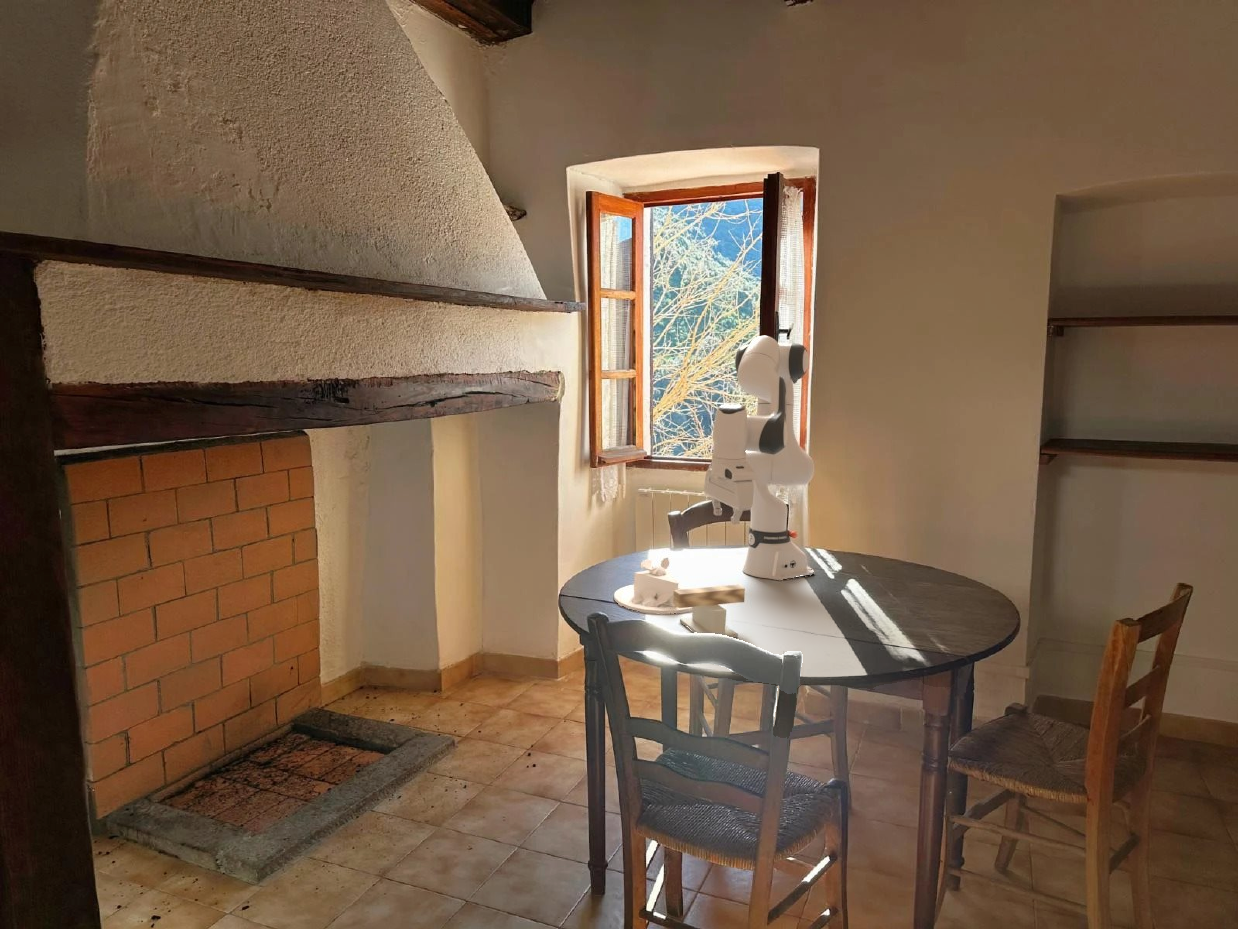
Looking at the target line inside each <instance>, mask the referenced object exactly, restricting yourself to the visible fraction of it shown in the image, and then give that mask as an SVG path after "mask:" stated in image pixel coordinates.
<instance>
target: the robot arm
mask: <svg viewBox="0 0 1238 929" xmlns="http://www.w3.org/2000/svg"><path fill="white" fill-rule="evenodd" d="M734 358H735V359H734V367H735V370H736V373H737V374H736V375H737V376H736V377H737V381H738V384H739V386H740V387H741V389H742V390H743V391H744V392H745V393H746V394H748V395H749V396H752V397H754V398H757V407H756V414H748V411H747V408H746V407H745V406H744V405H743V404H739V403H725V404H724V403H723V404H721V405H719V406H718V407H717V409H716V411H715V416H714V423H713V429H712V430H713V432H712V441H713V450H712V454H711V462H710V464H709V465H708V468H707V470H706V472H705V477H704V485H703V487H704V488H703V491H704V494H705V495H706V496H708V497H710V498H711V503H712V507H713V515H715V516H722V515H723V508H722V507H721V503H722V504H725V505H727V506H729V507H731V508H732V512H733V514H732V516H730V523H731V524H732V525H739V524H740V520H741V517H742V514H743V512H744V511H745V512H746V511H750V526H749V527H748V537H747V539H748V541H747V542H748V546H747V547H748V548H747V554H746V558H745V562H744V564H743V568H742V571H743V573H744V574H746V575H748V576H752V577H755V578H756V577H757V578H763V579H771V580H776V581H784V580H783V579H787V578H793V577H796V576H800V575H806V574H809V573H813V572H814V573H815V571H814V569H813V568H812V567H810V566H809V565H808V559H807V558H808V557H807V555H806V553H805V552H804V551H803V550H801V549H800V548H799V547H798V546H797V545H796V544H795V543H794V542H793V541H792V540H791V539H796V538H797V537H798V533H797V532H796V531H793V530H791V531H790V530H788V529H787V520H788V519H787V518H788V506H787V504H786V502H785V501H784V500H783V499H781V498H780V497H778V496H776V495H774V494H773V493H771V491H770V490H769V488H768V487H769V486H778V487H779V486H780V487H797V486H799V487H800V486H806V485H808V484H809V483H810V482H811V481H812V479H813V477H814V475H815V469H816V468H815V463H814V460H813V458H812V457H811V456H810V454H808V453H807V452H806V451H805V450H804V449H803V448H802V446H800V444H799V442H798V440H797V438H796V436H795V431H794V405H795V403H794V402H795V396H794V394H795V393H794V392H795V391H794V385H795V384H796V383H797V382H798V380H801V379H802V378H803V377H804V376H805V375H806V374H807V371H808V368H809V364H810V357H809V353H808V349H807V348H806V347H805V345H803V344H800V343H793V342H792V343H786V342H785V343H783V342H778V341H777V340H776V339H775V338H773V337H772V336H769V335H760V336H757V337H755V338H753V339H752V340H751V342H749V344H745V345H743V346H741V347H739V349H738V350H737V351H736V355H735V357H734ZM811 569H812V570H811ZM793 579H794V578H793ZM787 580H788V579H787Z"/></svg>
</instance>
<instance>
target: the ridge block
mask: <svg viewBox="0 0 1238 929" xmlns="http://www.w3.org/2000/svg"><path fill="white" fill-rule="evenodd" d="M691 612H692V613H691V615H692V616H691V617H685V618H679V623H680V624H681V623H682V624H683V625H682V624H681V625H682V626H684V625H685V626H688V627H689V628H690V629H691V630H692V631H691V633H693V632H697V633H715V634H722V635H727V636H729V637H737V638H736V639H738V637H739V633H738V632H736V631H735V630H733V629H732V628H730V627H728V626H727V625H726V624H727V622H726V621H727V609H726V608H724V607H722V606H721V605H720V604H719V605H708V606H698V607H693V611H691ZM685 626H684V627H685Z"/></svg>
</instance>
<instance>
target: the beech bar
mask: <svg viewBox="0 0 1238 929" xmlns="http://www.w3.org/2000/svg"><path fill="white" fill-rule="evenodd" d="M745 595H746V589H745V587H743V586H741V585H740V584H729V585H719V586H706V587H694V588H689V589H682V590H674V596H673V604H674V605H675V606H677V607H678V608H688V607H698V606H708V605H719V606H720V605H726V604H727V605H729V604H738V603H740V604H741V603H745Z"/></svg>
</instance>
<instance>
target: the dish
mask: <svg viewBox="0 0 1238 929" xmlns="http://www.w3.org/2000/svg"><path fill="white" fill-rule="evenodd" d="M639 566H640V569H644V571H643V570H642V571H636V572H634V573H633V584H629V585H626V586H623V587H619V589H617V590H616V591H615V592H614V596H613V597H614V599H613V600H615V601H616V602H617V603H618V605H619V606H620V607H622V606H624V607H626V608H625V609H627V608H628V609H627V610H629V609H633V610H637V611H636V612H638V611H640V612H639V613H642V614H643V613H644V614H651V613H656V614H655V615H678V614H677V613H680V614H684V613H691V612H693V607H688V608H678V607H677V606H675V605H674V604H673V596H674V590H682V589H690V588H689V587H686V586H681V585H679V582H678V581H677V579H676V578H675V577H674V576H673V574H672V573H671V572H670V571H669V569H668V568H669V566H670V559H669V557H665V558H663V559H662V560H661V562H660V566H659V565H654V566H653V562H652V559H644V560H642V561H641V563H640V565H639ZM615 601H614V602H615ZM616 602H615V603H616ZM617 603H616V604H617ZM624 607H623V608H624ZM633 610H632V611H633ZM657 613H659V614H657ZM666 613H667V614H666ZM670 613H671V614H670ZM674 613H676V614H674Z"/></svg>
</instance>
